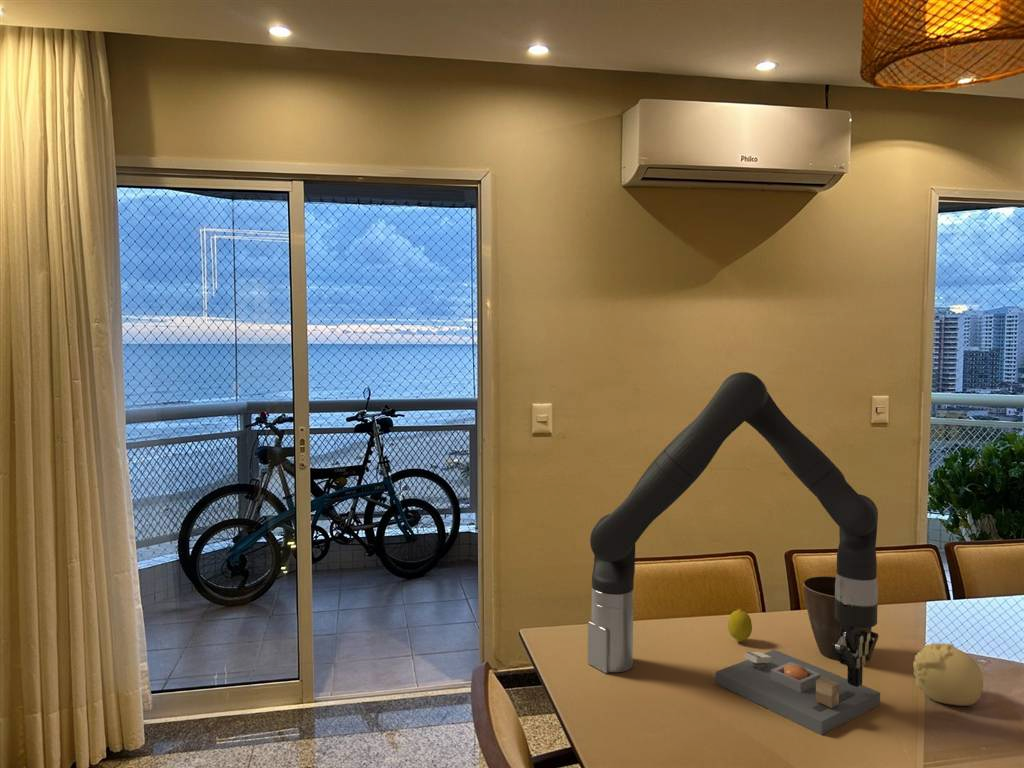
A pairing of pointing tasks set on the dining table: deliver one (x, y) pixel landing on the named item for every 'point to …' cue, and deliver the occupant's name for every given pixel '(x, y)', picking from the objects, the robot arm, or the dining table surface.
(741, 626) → the lemon
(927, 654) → the sculpture
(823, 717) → the control panel
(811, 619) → the plant pot
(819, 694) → the slide paddle
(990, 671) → the dining table surface
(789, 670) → the push button
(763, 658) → the rocker switch
